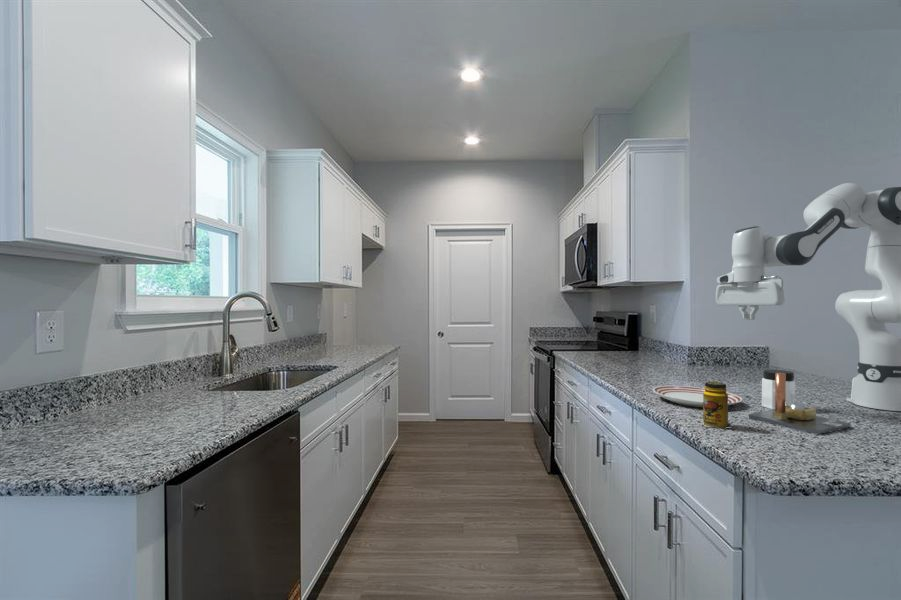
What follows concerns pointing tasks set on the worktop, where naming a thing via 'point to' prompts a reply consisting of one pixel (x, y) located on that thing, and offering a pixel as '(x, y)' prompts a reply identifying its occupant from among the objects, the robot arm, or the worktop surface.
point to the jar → (769, 387)
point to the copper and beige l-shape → (783, 408)
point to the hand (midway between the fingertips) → (748, 319)
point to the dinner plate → (689, 395)
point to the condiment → (715, 405)
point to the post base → (803, 421)
